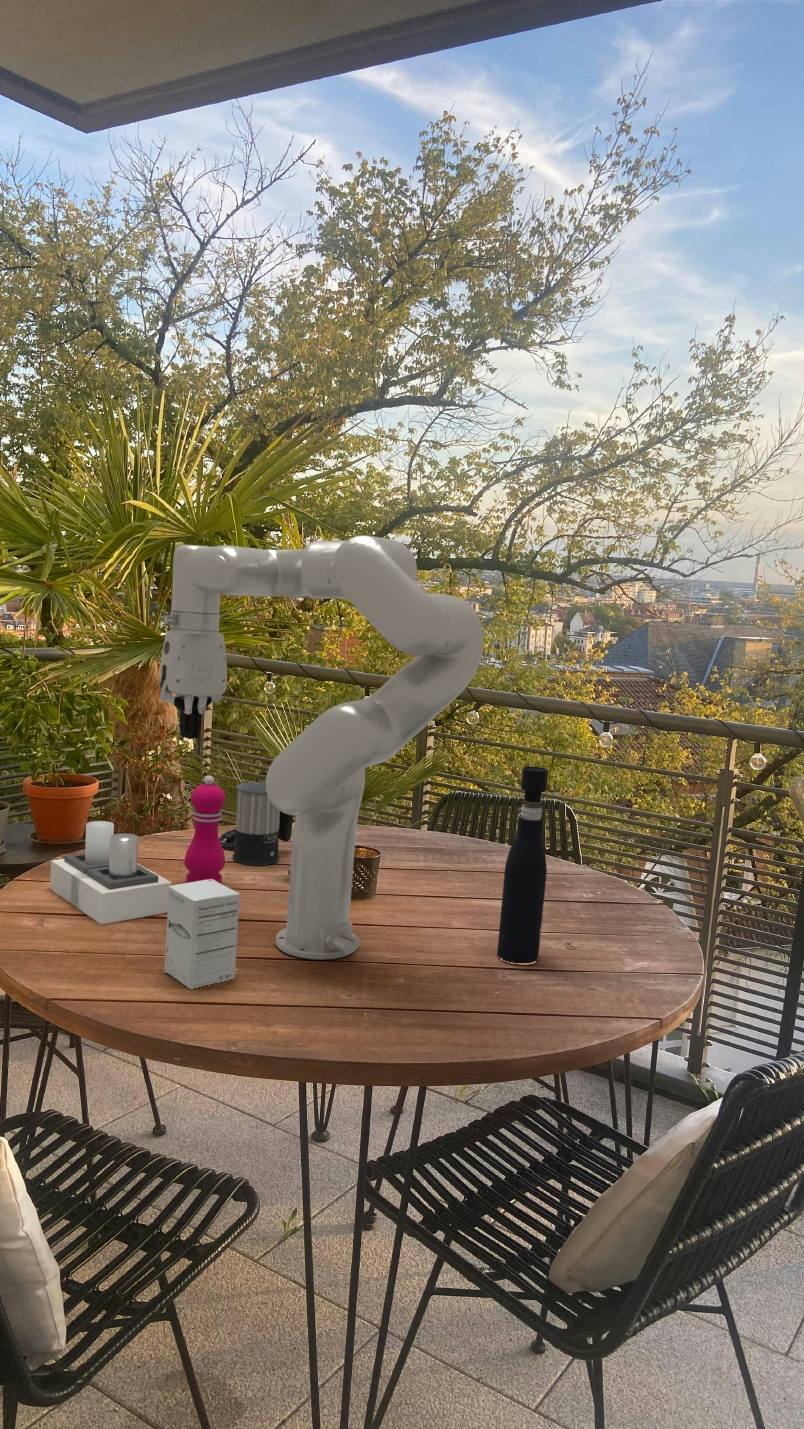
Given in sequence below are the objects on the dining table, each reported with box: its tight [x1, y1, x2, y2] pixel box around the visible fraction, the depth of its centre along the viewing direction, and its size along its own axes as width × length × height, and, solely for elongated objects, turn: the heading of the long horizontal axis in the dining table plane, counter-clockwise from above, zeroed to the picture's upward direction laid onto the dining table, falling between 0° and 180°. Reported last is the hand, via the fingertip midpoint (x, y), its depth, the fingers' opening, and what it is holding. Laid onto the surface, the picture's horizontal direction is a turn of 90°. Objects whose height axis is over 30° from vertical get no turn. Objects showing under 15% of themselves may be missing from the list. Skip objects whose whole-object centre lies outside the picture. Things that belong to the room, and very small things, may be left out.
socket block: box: [49, 820, 173, 925], centre depth 162 cm, size 20×12×12 cm, turn 42°
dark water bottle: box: [496, 765, 549, 963], centre depth 150 cm, size 6×6×30 cm
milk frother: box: [219, 781, 294, 866], centre depth 196 cm, size 14×16×15 cm
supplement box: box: [164, 879, 241, 990], centre depth 135 cm, size 7×7×13 cm
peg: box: [108, 833, 140, 880], centre depth 159 cm, size 4×4×12 cm
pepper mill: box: [183, 775, 226, 884], centre depth 174 cm, size 7×7×20 cm
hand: (189, 737), depth 157 cm, fingers closed
